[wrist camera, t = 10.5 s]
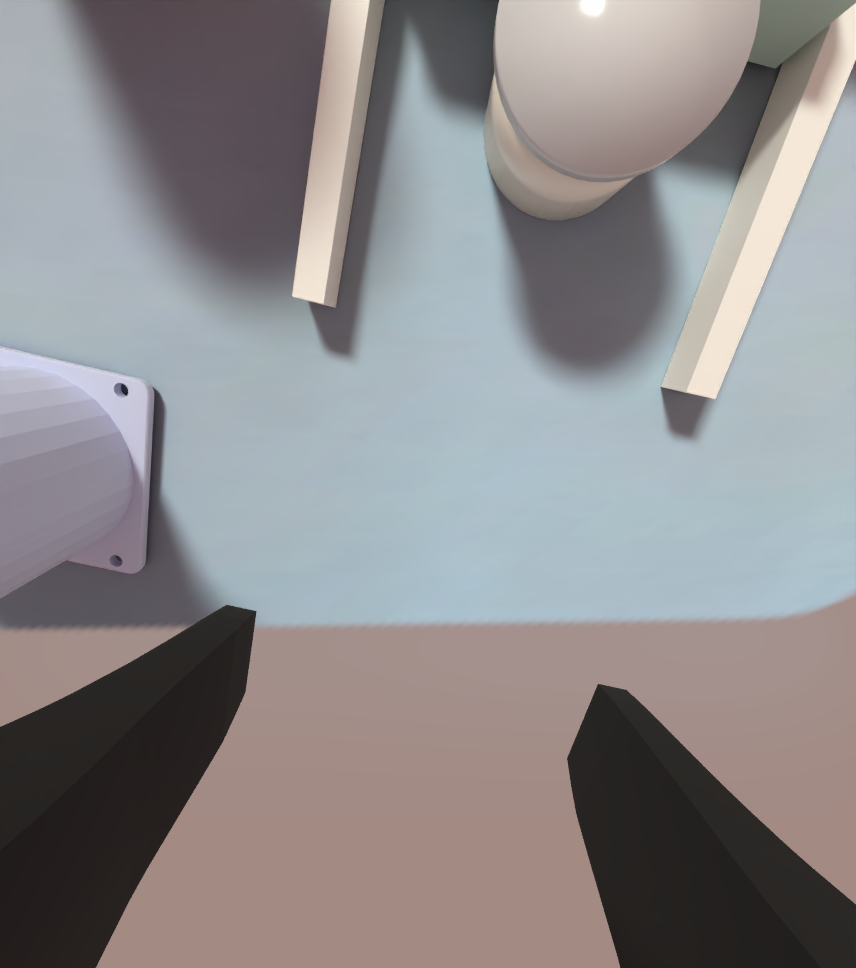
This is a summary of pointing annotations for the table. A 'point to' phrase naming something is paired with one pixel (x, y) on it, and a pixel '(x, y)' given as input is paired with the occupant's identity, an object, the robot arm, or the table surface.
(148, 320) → the table surface
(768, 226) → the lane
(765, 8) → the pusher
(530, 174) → the jar
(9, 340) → the table surface
